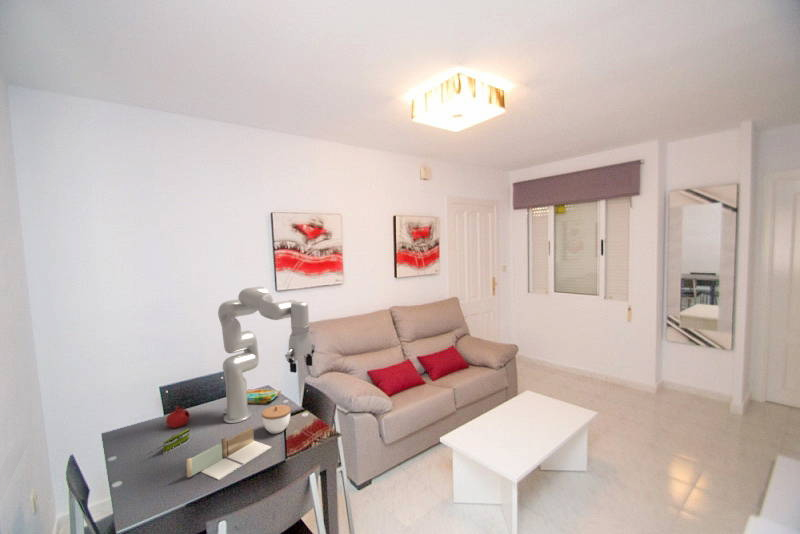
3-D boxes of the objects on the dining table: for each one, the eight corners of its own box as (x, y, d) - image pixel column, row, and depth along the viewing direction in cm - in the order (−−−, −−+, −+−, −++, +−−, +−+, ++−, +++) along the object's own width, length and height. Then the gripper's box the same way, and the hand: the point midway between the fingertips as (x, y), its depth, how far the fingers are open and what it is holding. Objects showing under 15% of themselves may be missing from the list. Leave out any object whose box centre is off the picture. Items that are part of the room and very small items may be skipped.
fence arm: (186, 476, 129) (185, 459, 129) (220, 457, 141) (219, 442, 140) (188, 477, 128) (188, 460, 128) (222, 458, 140) (222, 443, 140)
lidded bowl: (295, 423, 169) (294, 401, 169) (284, 437, 157) (283, 412, 156) (270, 422, 171) (269, 400, 170) (257, 436, 158) (256, 412, 158)
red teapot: (170, 432, 164) (168, 413, 163) (163, 425, 171) (162, 407, 170) (193, 424, 172) (192, 405, 171) (186, 417, 178) (184, 400, 177)
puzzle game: (248, 388, 205) (280, 388, 203) (248, 396, 206) (281, 396, 203) (236, 396, 194) (271, 396, 191) (237, 404, 194) (271, 405, 192)
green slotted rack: (196, 429, 155) (180, 421, 159) (154, 452, 138) (136, 443, 141) (194, 443, 156) (178, 435, 159) (152, 468, 139) (135, 459, 142)
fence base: (221, 457, 141) (220, 439, 141) (251, 440, 154) (250, 423, 153) (224, 458, 140) (223, 440, 140) (254, 441, 153) (253, 424, 152)
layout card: (186, 465, 137) (186, 464, 137) (240, 436, 158) (240, 435, 158) (218, 480, 127) (218, 478, 127) (271, 447, 148) (271, 446, 148)
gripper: (307, 325, 163) (308, 362, 164) (278, 333, 148) (280, 373, 149) (320, 327, 160) (321, 364, 160) (291, 335, 144) (293, 376, 145)
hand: (301, 368), depth 154 cm, fingers open, 9 cm apart
